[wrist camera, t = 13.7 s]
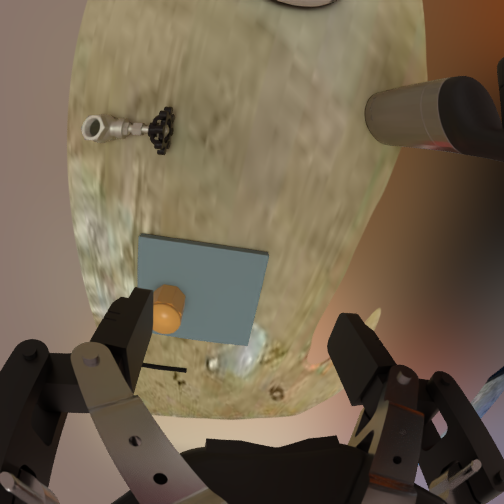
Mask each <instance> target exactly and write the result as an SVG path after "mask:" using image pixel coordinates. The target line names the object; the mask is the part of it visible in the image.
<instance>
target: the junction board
mask: <svg viewBox="0 0 504 504" xmlns="http://www.w3.org/2000/svg"><path fill="white" fill-rule="evenodd" d="M268 259H269V254H268V252H263V251H257V250H250V249H243V248H237V247H230V246H223V245H216V244H210V243H203V242H196V241H189V240H183V239H176V238H169V237H162V236H156V235H149V234H141V235H140V236H139V243H138V288H143V289H149V290H153V293H154V291H155V290H156V289H158V288H159V287H161V286H162V285H164V284H166V285H172V286H177V287H178V288H179V289H180V290H181V291H182V293H183V294H184V295H185V307H184V311H183V316H182V321H181V325H180V326H179V328H178V329H177V330H176V331H175V332H173V333H171V334H161V333H158V332H156V331H154V330H152V333H155V334H160V335H166V336H172V337H179V338H185V339H192V340H200V341H207V342H215V343H224V344H234V345H244V346H248V342H249V338H250V334H251V329H252V325H253V321H254V317H255V313H256V309H257V305H258V301H259V297H260V293H261V288H262V284H263V280H264V276H265V272H266V267H267V263H268Z"/></svg>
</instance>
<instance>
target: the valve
mask: <svg viewBox="0 0 504 504" xmlns="http://www.w3.org/2000/svg"><path fill="white" fill-rule="evenodd" d="M172 112H173V108H172V107H165V108H164V111H160V113H159V115H158V116H156V117H155V118H154V119H153V123H150V125H149V126H145V124H144V123H134V124H133V125H132V124H131V123H129V121H128V119H127V118H120V119H117V118H113V117H112V116H110V115H108V114H101V115H90V116H88V117H87V118H86V120H85V121H84V123H83V125H82V127H81V130H82V134H83V136H84V139H85V140H93V141H95V142H97V143H104V142H107V141H109V140H116V138H117V139H125V138H126V137H127V135H130V133H132V135H143V134H144V133H148V136H149V137H150V140H151V142H152V143H153V144H154V148H155V149H161V150H157V154H158V155H165V154H166V149H169V147H170V141H169V139H170V136H172V135H173V128H172V122H173V121H174V114H172ZM157 120H161V123H157ZM166 123H167V125H166ZM164 136H165V138H164ZM155 137H158V140H155V139H154V138H155Z"/></svg>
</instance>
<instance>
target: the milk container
mask: <svg viewBox="0 0 504 504" xmlns="http://www.w3.org/2000/svg"><path fill="white" fill-rule="evenodd" d="M277 1H279V2H283V3H287V4H290V5H295V6H307V7H314V6H322V5H327V4H330V3H332V2H335V1H336V0H277Z"/></svg>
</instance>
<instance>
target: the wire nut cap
mask: <svg viewBox="0 0 504 504" xmlns="http://www.w3.org/2000/svg"><path fill="white" fill-rule="evenodd" d="M184 307H185V295H184V294H183V293H182V291H181V290H180V289H179V288H178V287H177V286H172V285H166V284H164V285H162V286H161V287H159V288H158V289H156V290H155V291H154V293H153V330H154V331H156V332H158V333H161V334H171V333H173V332H175V331H176V330H177V329H178V328H179V326H180V325H181V321H182V316H183V311H184Z"/></svg>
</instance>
